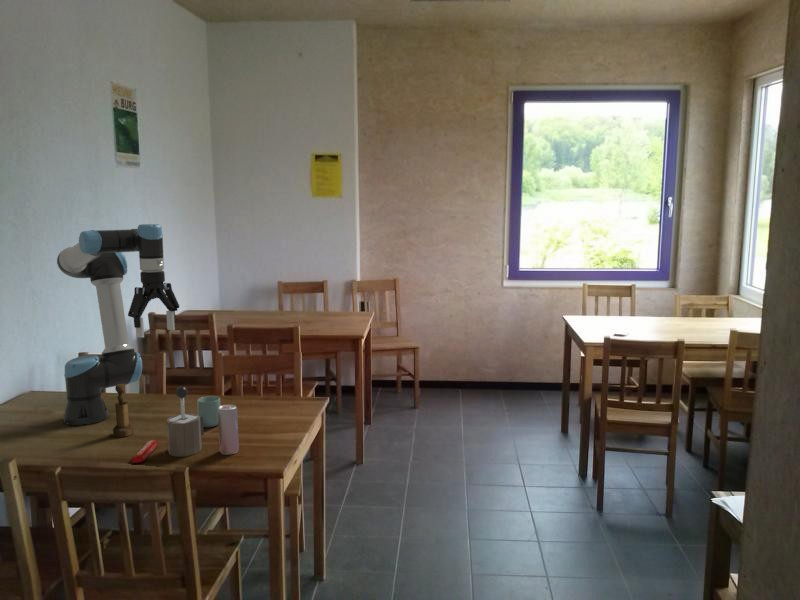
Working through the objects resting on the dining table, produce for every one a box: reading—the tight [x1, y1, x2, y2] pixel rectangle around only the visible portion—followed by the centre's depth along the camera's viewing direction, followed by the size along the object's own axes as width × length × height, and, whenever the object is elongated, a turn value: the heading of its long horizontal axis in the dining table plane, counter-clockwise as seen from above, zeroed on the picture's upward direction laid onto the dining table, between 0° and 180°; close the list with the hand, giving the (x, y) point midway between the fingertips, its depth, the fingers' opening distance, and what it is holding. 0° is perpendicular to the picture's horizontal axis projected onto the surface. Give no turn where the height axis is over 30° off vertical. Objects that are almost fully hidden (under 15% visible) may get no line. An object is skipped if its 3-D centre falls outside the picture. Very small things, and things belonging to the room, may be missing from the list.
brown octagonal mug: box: [165, 413, 205, 458], centre depth 207 cm, size 10×13×11 cm
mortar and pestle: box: [112, 384, 134, 438], centre depth 221 cm, size 7×6×18 cm
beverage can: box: [217, 404, 240, 456], centre depth 204 cm, size 6×6×15 cm
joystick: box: [175, 386, 188, 420], centre depth 205 cm, size 7×7×19 cm
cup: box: [196, 395, 221, 428], centre depth 229 cm, size 8×8×10 cm
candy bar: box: [131, 439, 158, 464], centre depth 203 cm, size 16×4×3 cm, turn 2°
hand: (156, 333), depth 214 cm, fingers open, 13 cm apart
